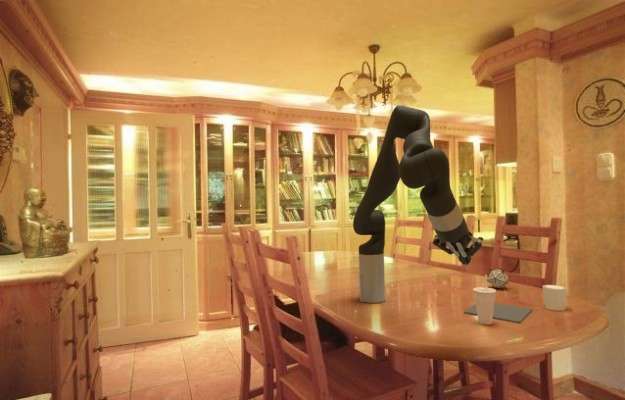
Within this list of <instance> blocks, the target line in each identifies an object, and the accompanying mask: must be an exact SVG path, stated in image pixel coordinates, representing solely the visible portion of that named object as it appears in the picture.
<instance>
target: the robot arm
mask: <svg viewBox="0 0 625 400" xmlns="http://www.w3.org/2000/svg"><path fill="white" fill-rule="evenodd" d="M430 118H431V117H430V115H429V113H428V112H426V111H425V110H422V109H417V108H415V107H410V106H406V105H400V104H399V105H396V106H395V107H394V108H393V110H392V112H391V115H390V118H389V121H388V124H387V127H386V130H385V134H384V138H383V141H382V144H381V148H380V150H379V153H378V156H377V159H376V161H375V164H374V166H373V168H372V170H371V174H370V177H369V180H368V183H367V186H366V189H365V191H364V194H363V197H362V199H361V201H360V203H359V205H358V207H357V209H356V211H355V214H354V217H353V221H352V227H353V228H352V229H353V231H354V233H355V234H356V235H359V236H370V238H369V239H368V240H367V241H366V242H364V243H362V244H360V245H359V246H358V292H359V293H358V295H359V296H358V297H359V302H361V303H368V304H369V303H370V304H377V303H383V302H384V301H386V287H385V286H386V281H385V245H386V217H385V214H384V212H383V211H382V210H379V209H376V208H378V207H379V206H380V205H381V204H383V203H384V202H386V200H388V199H389V198H390V197H391V196H392V195H393V194H394V192H395V191H396V189H397V186H398V184H399V182H400V180H401V182H402V183H403V186H405V187H407V188H408V189H413V190H415V189H416V190H417V189H421V190H420V193H419V197H420V201H421V203H422V205H423V207H424V208H425V211H426V213H427V217H428V219H429V222H430V223H431V225H432V228H433V230H434V232H435V235H434V238H433V239H432V240H433V241H432V244H433V246H435V247H437V248H438V249H440V250H442V251H444V252H445V253H447V254H448V255H450V256H451V255H453V254H454V255H455V257H457V258H458V261H459V262H460V263H461V264H462V265H468V266H469V264H470V263H471V260H472V257H473V256H474V255H475V254H476V253H477V252H478V251H479V250H480V249H481V248H482V245H483V242H484V237H482V236H479V237H474V236H473V233H472V232H471V231H470V230H469V228H468V224H467V222H466V219H465V217H464V214H463V212H462V209H461V207H460V206H459V203H458V202H457V199H456V198H455V195H454V194H453V191H452V188H451V182H450V162H449V158H448V155H447V154H446V153H445V152H444V151H443V150H442V149H439V148H437V147H434V146H433V143H432V141H431V119H430ZM396 139H401V140H404V141H403V145H402V151H403V155H402V157H401V158H400V162H399V158H398V156H397V152H396V148H395V147H396V146H395V140H396ZM470 243H471V245H470V246H469V244H470Z"/></svg>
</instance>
